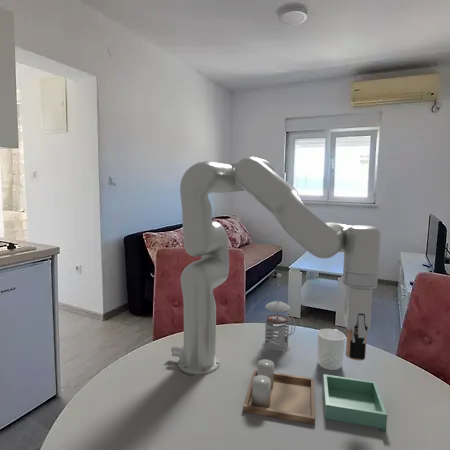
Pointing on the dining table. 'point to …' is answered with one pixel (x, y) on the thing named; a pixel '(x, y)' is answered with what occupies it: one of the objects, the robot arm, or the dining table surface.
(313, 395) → the tray
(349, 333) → the brown smooth lump
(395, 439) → the dining table surface
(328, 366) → the white cup
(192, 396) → the dining table surface
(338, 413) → the bin
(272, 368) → the pebble
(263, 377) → the pebble
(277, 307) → the french press
